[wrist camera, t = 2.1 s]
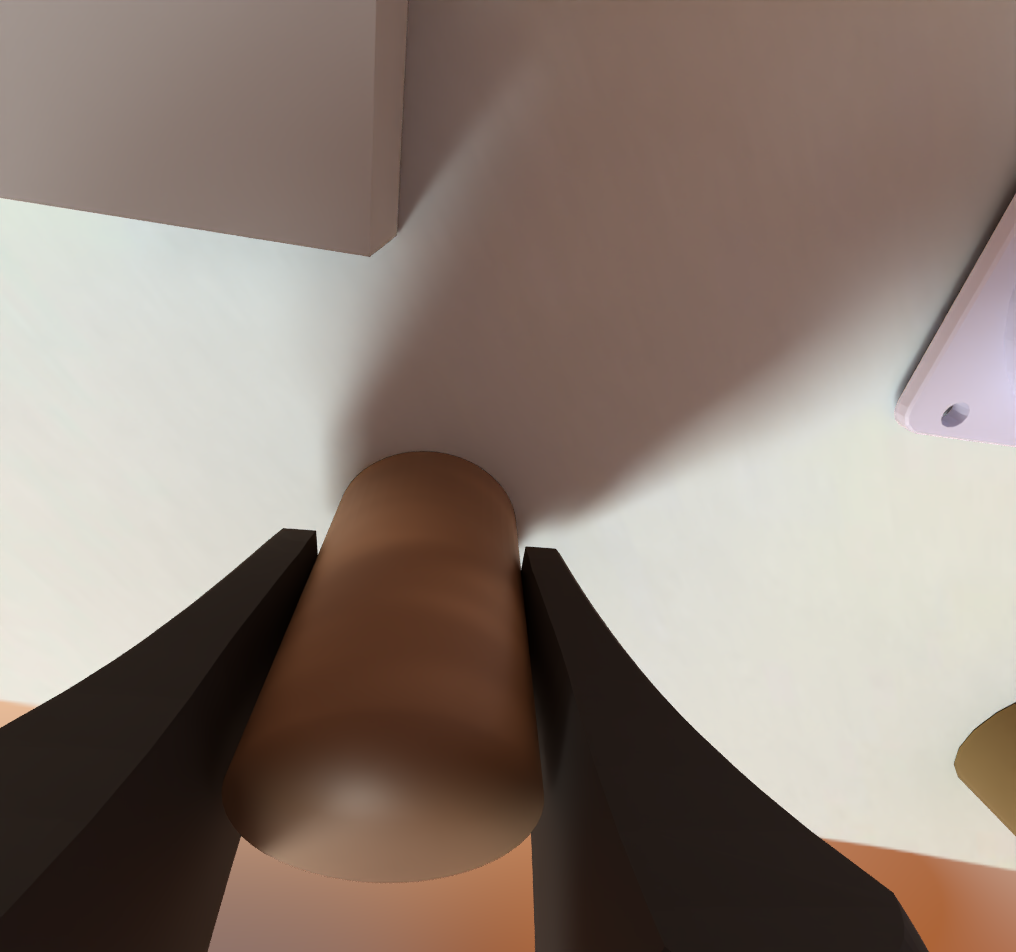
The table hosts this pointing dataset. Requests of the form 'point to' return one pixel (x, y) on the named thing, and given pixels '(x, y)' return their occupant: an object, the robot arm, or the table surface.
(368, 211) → the socket block
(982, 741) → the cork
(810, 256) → the table surface
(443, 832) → the wooden peg
